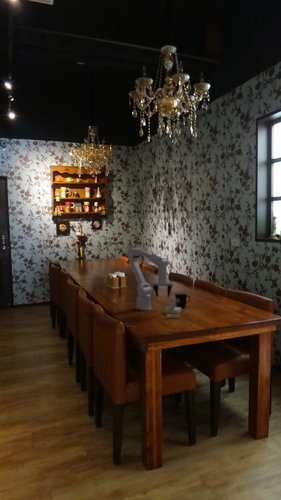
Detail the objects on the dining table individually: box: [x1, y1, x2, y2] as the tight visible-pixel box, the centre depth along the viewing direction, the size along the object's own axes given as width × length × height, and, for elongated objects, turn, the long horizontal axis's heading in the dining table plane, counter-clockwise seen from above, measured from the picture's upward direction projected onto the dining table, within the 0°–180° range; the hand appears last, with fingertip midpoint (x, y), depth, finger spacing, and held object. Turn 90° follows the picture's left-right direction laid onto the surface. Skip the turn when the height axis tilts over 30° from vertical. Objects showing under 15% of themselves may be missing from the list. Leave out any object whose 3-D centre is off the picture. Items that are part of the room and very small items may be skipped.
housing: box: [168, 299, 177, 310], centre depth 224 cm, size 7×4×5 cm, turn 162°
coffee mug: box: [174, 291, 192, 309], centre depth 235 cm, size 12×9×10 cm
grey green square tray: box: [163, 306, 182, 315], centre depth 224 cm, size 10×10×2 cm
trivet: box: [165, 313, 181, 320], centre depth 211 cm, size 8×8×1 cm
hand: (162, 296), depth 223 cm, fingers open, 7 cm apart
